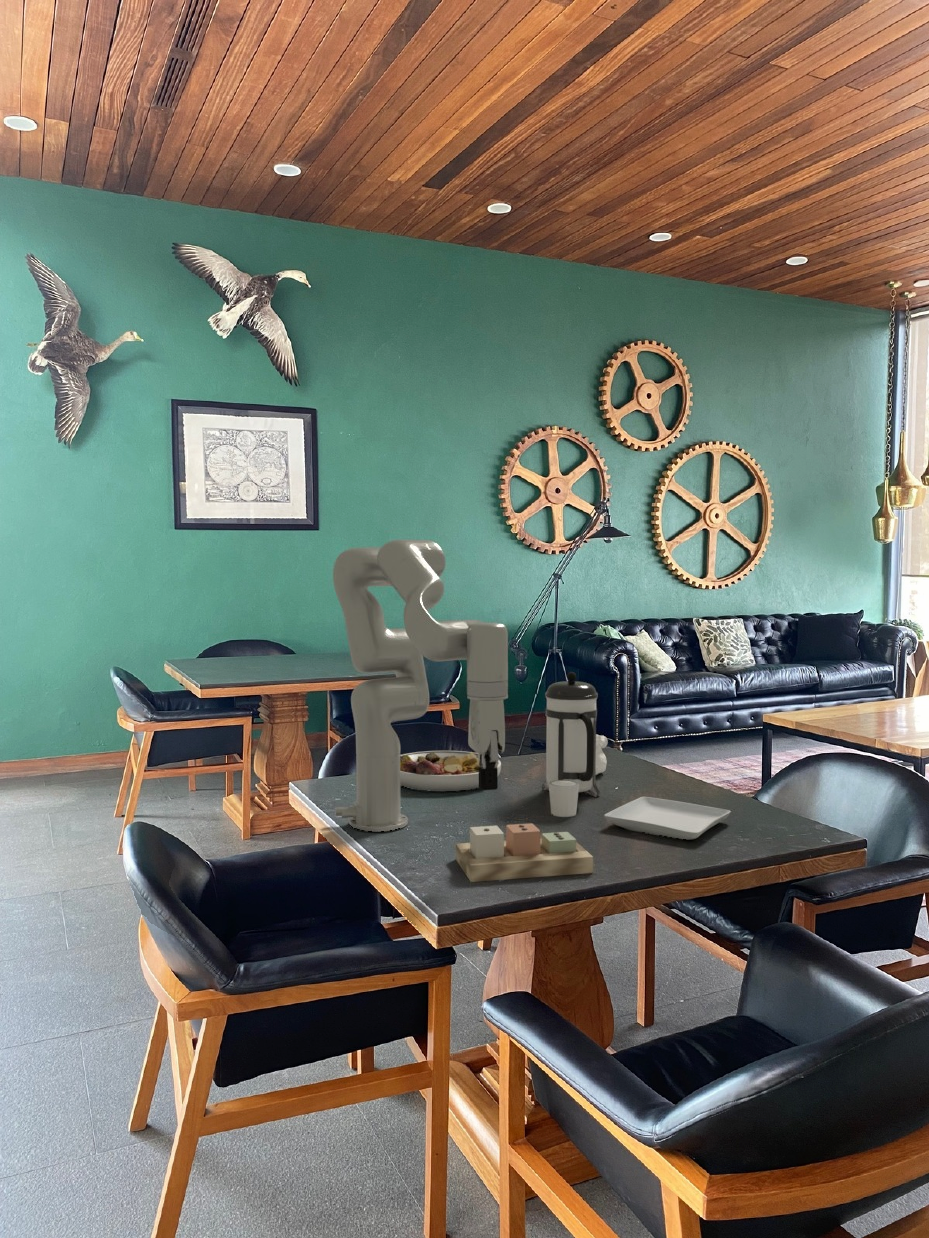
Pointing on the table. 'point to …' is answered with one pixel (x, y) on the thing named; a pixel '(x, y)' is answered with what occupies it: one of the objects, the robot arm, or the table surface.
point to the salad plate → (666, 817)
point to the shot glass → (563, 797)
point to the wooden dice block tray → (523, 864)
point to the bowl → (440, 770)
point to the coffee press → (571, 733)
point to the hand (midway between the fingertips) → (488, 788)
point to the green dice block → (558, 842)
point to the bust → (600, 754)
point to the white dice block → (486, 842)
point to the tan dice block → (523, 839)
